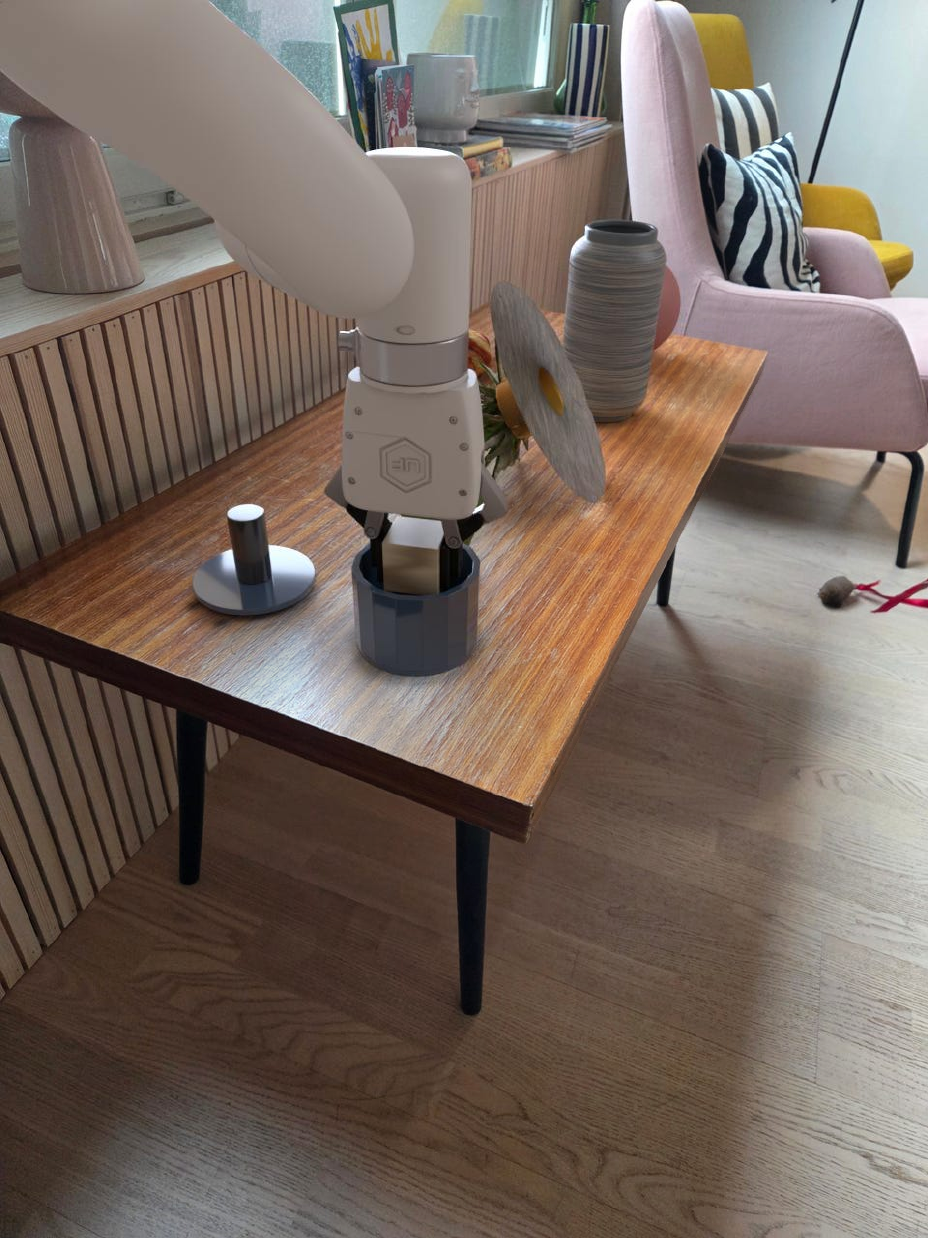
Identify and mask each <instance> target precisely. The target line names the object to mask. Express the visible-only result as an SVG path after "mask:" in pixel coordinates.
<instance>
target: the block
mask: <svg viewBox="0 0 928 1238" xmlns="http://www.w3.org/2000/svg"><path fill="white" fill-rule="evenodd" d="M392 522H393V524H392V526H391V527H390V529H389V531H388V533H387V535H386V537H385V538H384V540H383V542H382V556H383V579H384V590H385V591H393V592H401V593H409V594H417V595H430V594H436V593H439V592H440V590H441V589H440V548H441V545H442V543H443V541H444V532H443V528H442V524H441V521H436V520H427V519H418V518H409V517H401V515H396V516H395V518H394V520H393V521H392Z"/></svg>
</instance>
